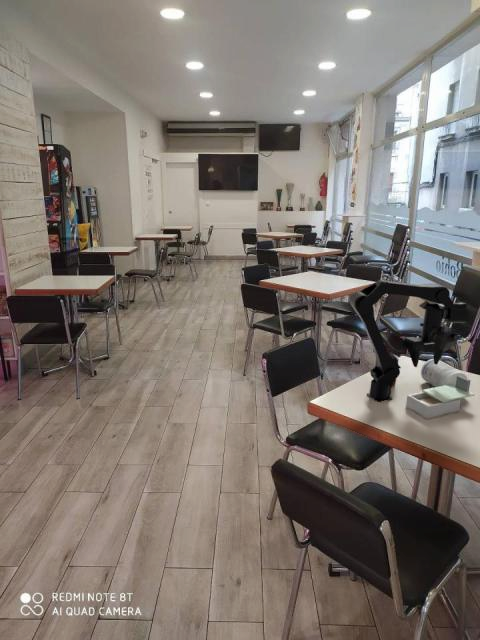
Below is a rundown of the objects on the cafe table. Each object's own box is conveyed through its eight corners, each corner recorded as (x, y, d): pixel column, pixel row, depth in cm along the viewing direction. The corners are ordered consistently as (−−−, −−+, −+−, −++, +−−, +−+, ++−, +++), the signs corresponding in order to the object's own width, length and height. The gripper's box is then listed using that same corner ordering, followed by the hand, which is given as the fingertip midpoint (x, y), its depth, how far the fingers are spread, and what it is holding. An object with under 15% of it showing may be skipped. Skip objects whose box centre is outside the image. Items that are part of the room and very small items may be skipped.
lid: (443, 402, 141) (445, 389, 139) (422, 391, 148) (424, 378, 147) (474, 395, 146) (476, 382, 145) (452, 385, 154) (454, 373, 152)
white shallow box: (426, 419, 139) (428, 406, 138) (405, 407, 147) (407, 395, 146) (458, 412, 145) (460, 399, 144) (436, 400, 153) (438, 388, 151)
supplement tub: (445, 372, 170) (472, 388, 156) (424, 385, 169) (450, 402, 156) (437, 353, 166) (464, 367, 153) (416, 366, 166) (441, 382, 152)
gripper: (430, 330, 137) (422, 377, 141) (473, 326, 144) (464, 371, 148) (404, 321, 146) (397, 365, 151) (446, 317, 154) (438, 359, 158)
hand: (425, 365), depth 151 cm, fingers open, 9 cm apart
